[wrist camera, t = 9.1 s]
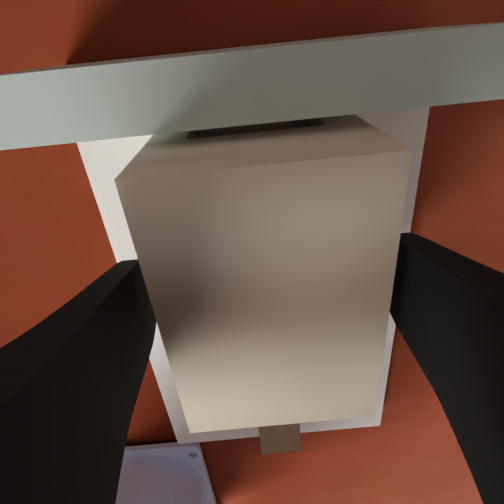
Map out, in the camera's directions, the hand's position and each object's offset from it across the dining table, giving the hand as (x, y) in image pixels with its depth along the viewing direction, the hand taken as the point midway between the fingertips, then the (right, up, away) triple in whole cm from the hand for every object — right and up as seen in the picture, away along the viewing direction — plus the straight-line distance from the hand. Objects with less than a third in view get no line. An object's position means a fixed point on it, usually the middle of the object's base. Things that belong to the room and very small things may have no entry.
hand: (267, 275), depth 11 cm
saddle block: (0, +2, +3) cm, 4 cm away
